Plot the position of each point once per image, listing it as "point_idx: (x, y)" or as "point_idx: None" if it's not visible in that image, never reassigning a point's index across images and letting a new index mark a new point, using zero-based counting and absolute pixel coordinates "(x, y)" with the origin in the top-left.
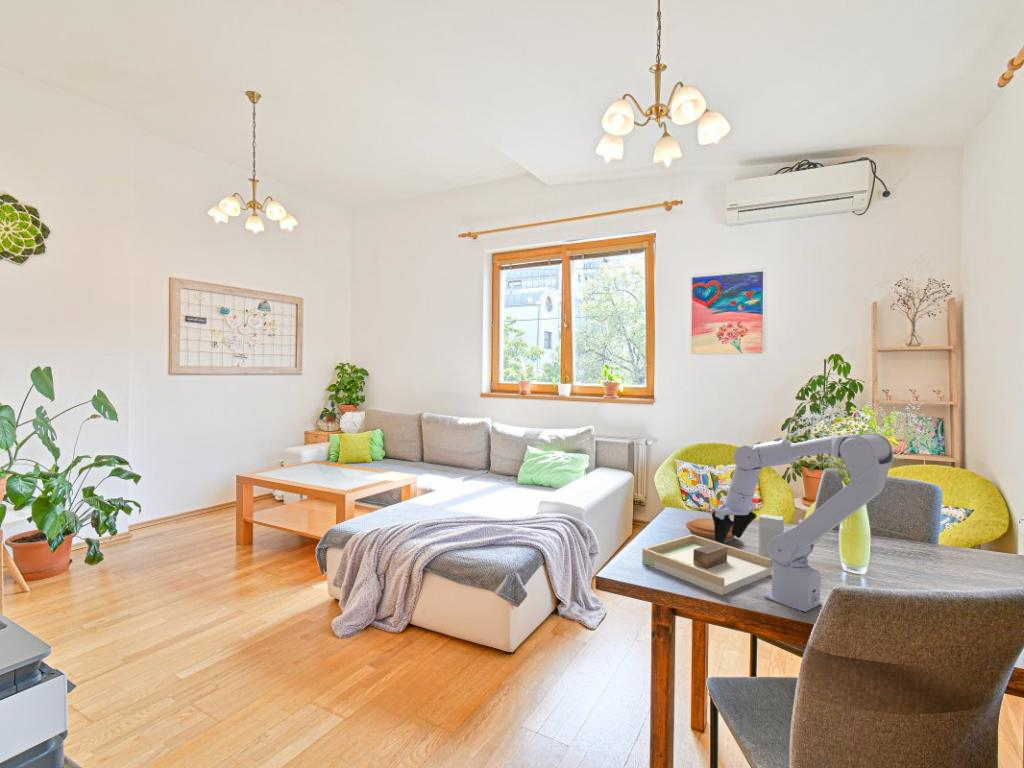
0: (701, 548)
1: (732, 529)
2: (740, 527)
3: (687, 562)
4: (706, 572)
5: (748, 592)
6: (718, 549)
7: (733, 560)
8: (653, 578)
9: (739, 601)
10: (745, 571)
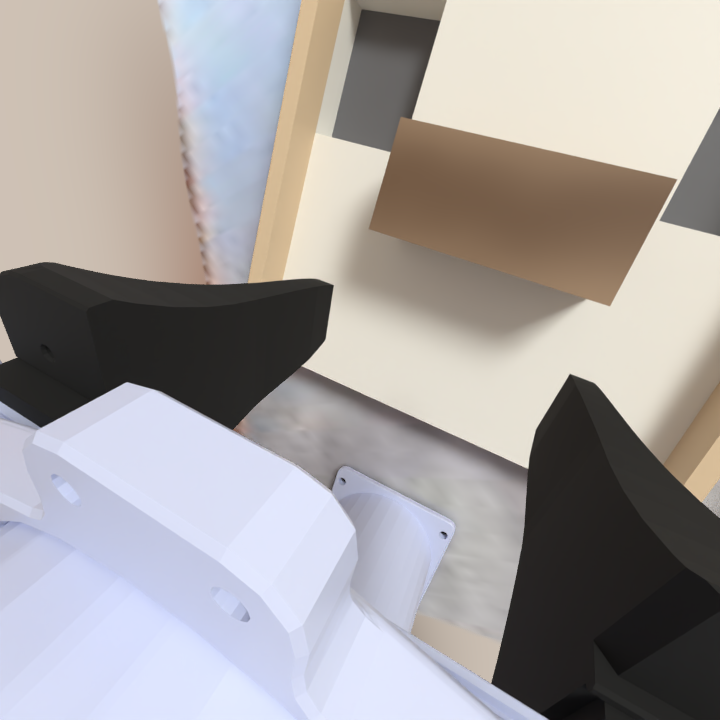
0: (449, 155)
1: (573, 393)
2: (546, 493)
3: (431, 107)
4: (250, 278)
5: (355, 416)
6: (503, 265)
7: (643, 326)
8: (250, 50)
9: (269, 396)
10: (484, 406)
